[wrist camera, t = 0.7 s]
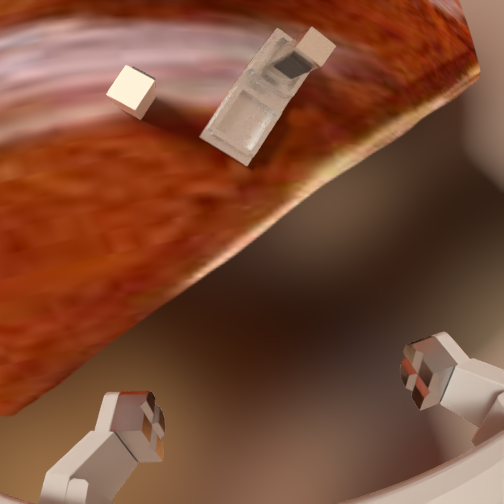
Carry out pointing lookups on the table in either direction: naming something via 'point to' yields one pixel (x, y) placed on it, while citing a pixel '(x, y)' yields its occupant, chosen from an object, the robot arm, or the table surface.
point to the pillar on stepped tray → (264, 92)
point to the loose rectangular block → (133, 91)
